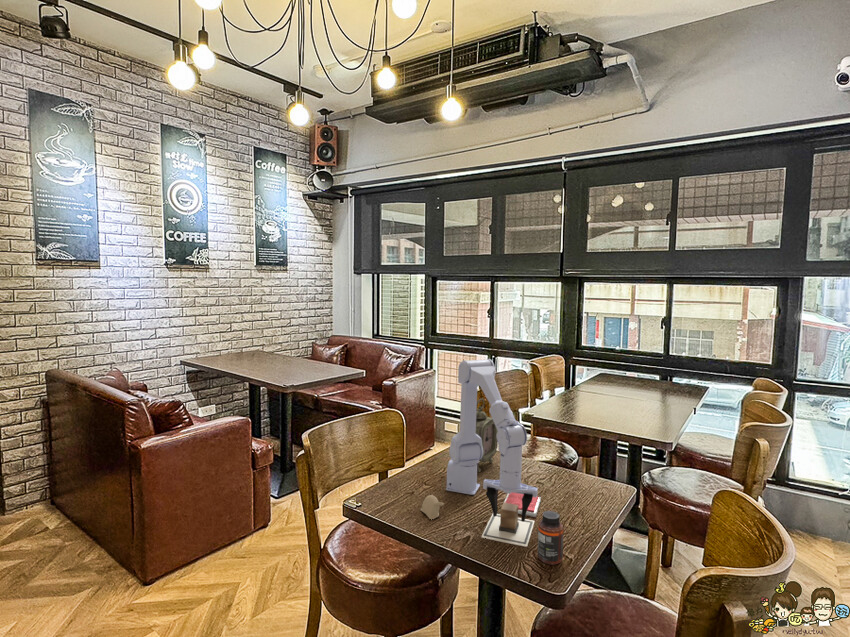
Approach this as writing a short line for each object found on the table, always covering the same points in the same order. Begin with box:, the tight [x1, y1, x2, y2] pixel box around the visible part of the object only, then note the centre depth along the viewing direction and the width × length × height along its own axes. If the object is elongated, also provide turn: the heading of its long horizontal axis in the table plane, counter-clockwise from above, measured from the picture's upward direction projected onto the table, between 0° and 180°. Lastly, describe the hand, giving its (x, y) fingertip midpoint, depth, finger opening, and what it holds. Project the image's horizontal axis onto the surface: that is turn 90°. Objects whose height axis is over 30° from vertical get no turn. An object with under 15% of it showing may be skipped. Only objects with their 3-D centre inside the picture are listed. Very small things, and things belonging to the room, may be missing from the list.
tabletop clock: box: [476, 398, 498, 474], centre depth 175 cm, size 14×9×25 cm, turn 149°
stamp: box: [499, 502, 519, 534], centre depth 132 cm, size 5×5×6 cm
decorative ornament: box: [419, 494, 445, 521], centre depth 139 cm, size 4×8×5 cm, turn 27°
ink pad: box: [503, 492, 542, 518], centre depth 145 cm, size 10×11×2 cm
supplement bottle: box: [537, 510, 564, 566], centre depth 118 cm, size 6×6×11 cm
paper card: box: [480, 513, 536, 548], centre depth 132 cm, size 12×14×1 cm
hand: (509, 517), depth 131 cm, fingers open, 7 cm apart
